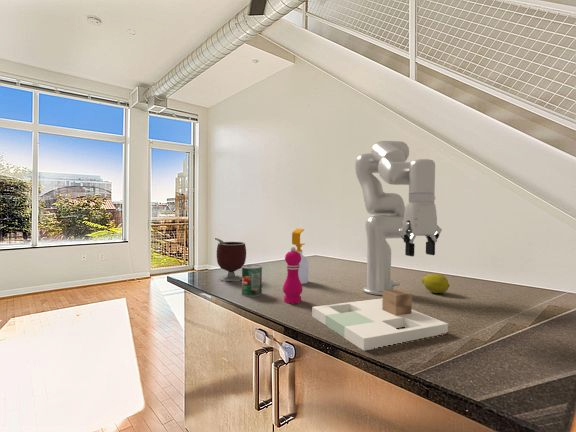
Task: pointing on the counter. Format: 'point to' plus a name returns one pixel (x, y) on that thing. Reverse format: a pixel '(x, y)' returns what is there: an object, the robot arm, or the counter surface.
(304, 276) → the soap bottle
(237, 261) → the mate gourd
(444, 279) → the lemon
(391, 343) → the board
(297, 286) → the pepper mill
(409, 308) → the walnut block
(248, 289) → the canned tomato
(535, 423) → the counter surface
